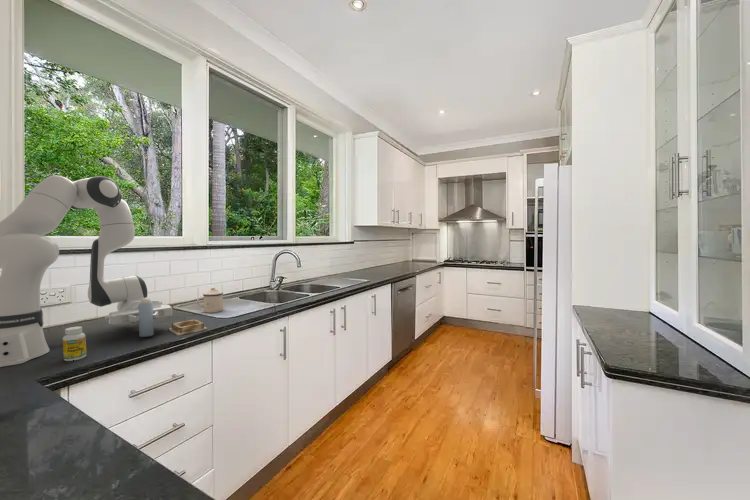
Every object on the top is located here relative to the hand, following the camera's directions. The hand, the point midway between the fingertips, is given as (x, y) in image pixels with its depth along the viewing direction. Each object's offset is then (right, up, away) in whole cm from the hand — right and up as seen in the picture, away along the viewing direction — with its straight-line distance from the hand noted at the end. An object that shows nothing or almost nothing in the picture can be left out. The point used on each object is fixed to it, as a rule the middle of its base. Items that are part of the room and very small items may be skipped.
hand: (146, 318), depth 125 cm
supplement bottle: (-10, -9, -19) cm, 23 cm away
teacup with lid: (+2, -5, +43) cm, 44 cm away
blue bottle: (-1, -6, +1) cm, 7 cm away
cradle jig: (+9, -7, +12) cm, 16 cm away
